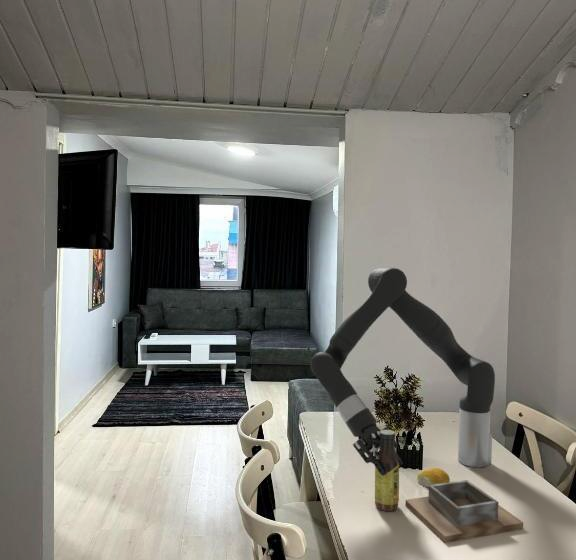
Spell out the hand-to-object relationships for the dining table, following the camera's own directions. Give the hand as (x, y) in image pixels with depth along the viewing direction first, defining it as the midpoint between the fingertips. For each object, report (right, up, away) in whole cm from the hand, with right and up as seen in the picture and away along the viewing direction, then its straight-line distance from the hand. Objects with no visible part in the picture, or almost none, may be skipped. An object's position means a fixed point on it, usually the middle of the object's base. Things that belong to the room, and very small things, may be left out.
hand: (392, 469), depth 133 cm
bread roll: (+15, -10, +16) cm, 24 cm away
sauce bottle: (-1, -10, +2) cm, 11 cm away
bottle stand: (+17, -11, -3) cm, 20 cm away
